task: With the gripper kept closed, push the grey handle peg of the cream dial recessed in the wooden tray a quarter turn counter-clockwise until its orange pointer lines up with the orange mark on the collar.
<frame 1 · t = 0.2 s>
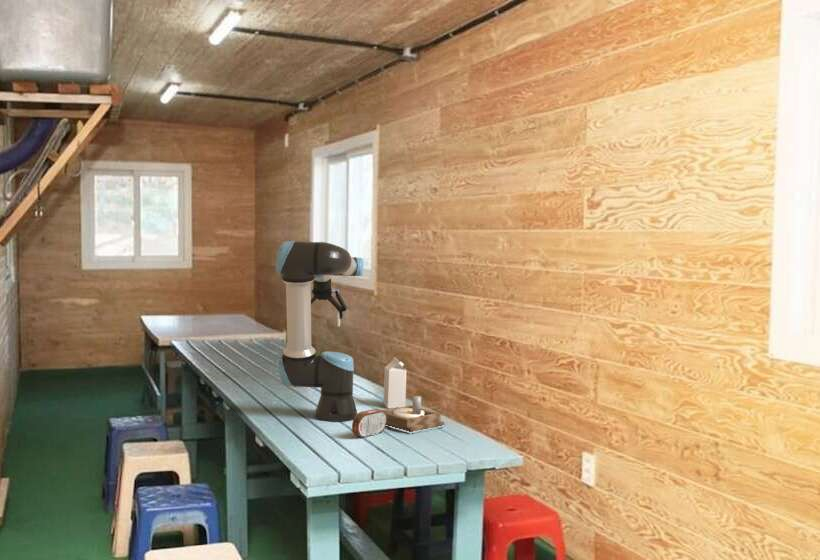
hand: (323, 324, 326), 28 cm above the table, tool tilted 20°, fingers open, 13 cm apart
dial: (409, 406, 270), point 7 cm above the table, hinge at 0.0°
tin: (369, 435, 254), on the table
wooden tray: (408, 424, 270), on the table
milk carton: (394, 407, 299), on the table
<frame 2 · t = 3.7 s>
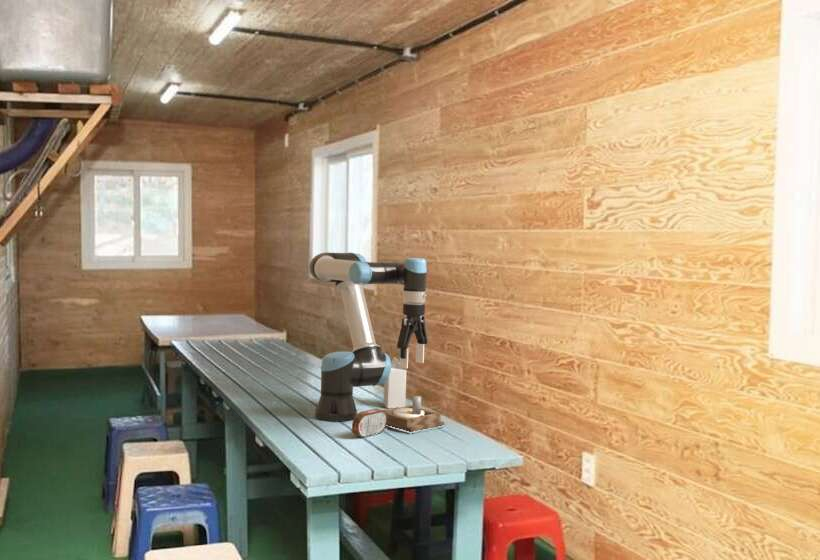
hand: (411, 365, 260), 23 cm above the table, tool pointing down, fingers open, 13 cm apart
nothing on the table moved.
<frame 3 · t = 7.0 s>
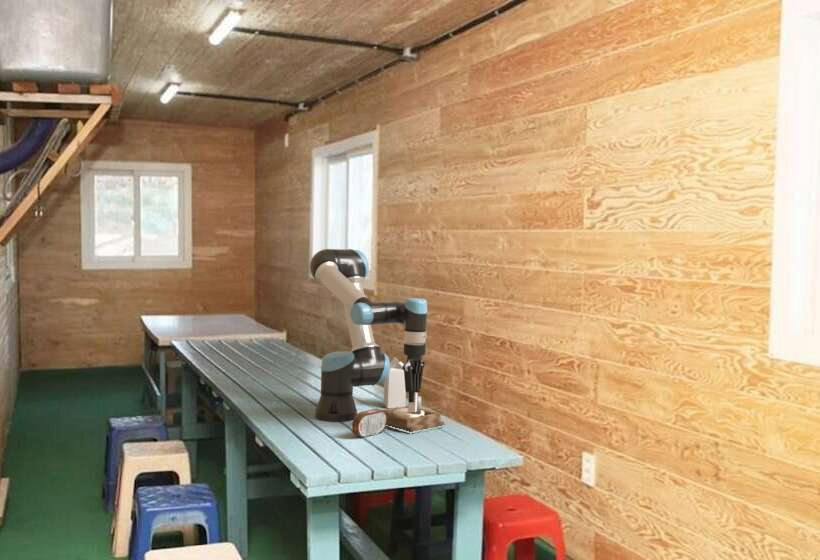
hand: (412, 411, 263), 6 cm above the table, tool pointing down, fingers closed
dial: (409, 406, 270), point 7 cm above the table, hinge at 1.0°, touching gripper
everything else where it was.
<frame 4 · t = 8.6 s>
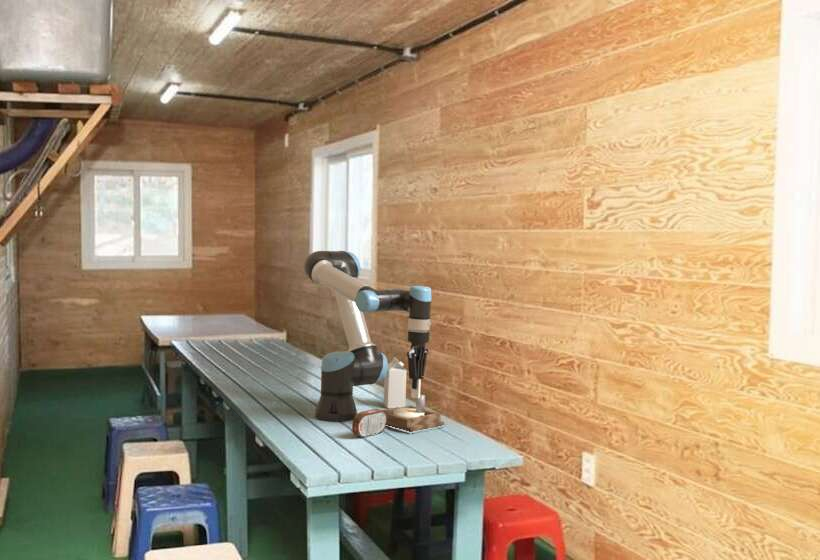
hand: (415, 397, 266), 11 cm above the table, tool pointing down, fingers closed
dial: (409, 406, 270), point 7 cm above the table, hinge at 44.2°
everything else where it was.
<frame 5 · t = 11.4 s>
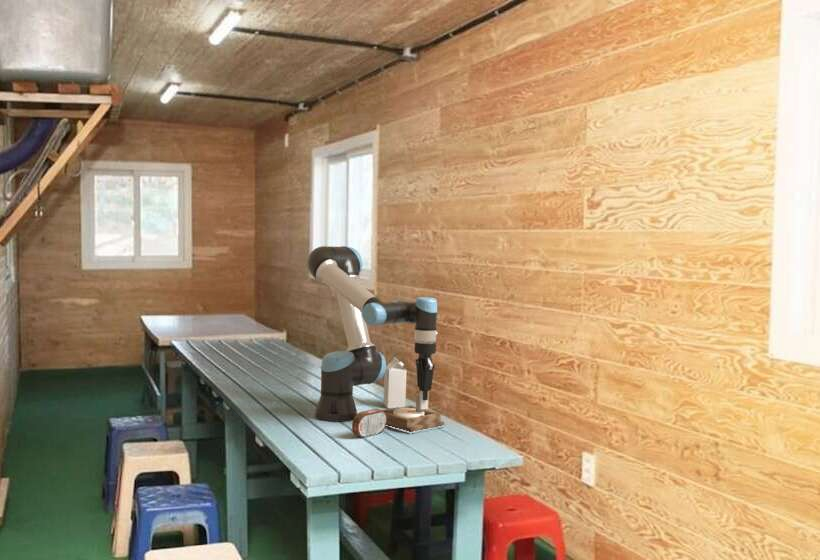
hand: (423, 408, 267), 7 cm above the table, tool pointing down, fingers closed
dial: (409, 406, 270), point 7 cm above the table, hinge at 58.5°, touching gripper
everything else where it was.
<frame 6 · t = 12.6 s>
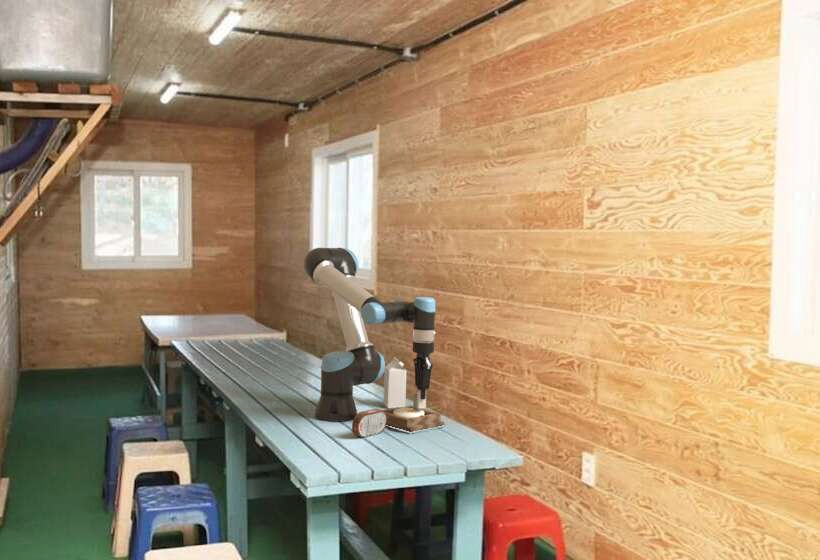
hand: (421, 407, 269), 7 cm above the table, tool pointing down, fingers closed
dial: (409, 406, 270), point 7 cm above the table, hinge at 88.5°, touching gripper
everything else where it was.
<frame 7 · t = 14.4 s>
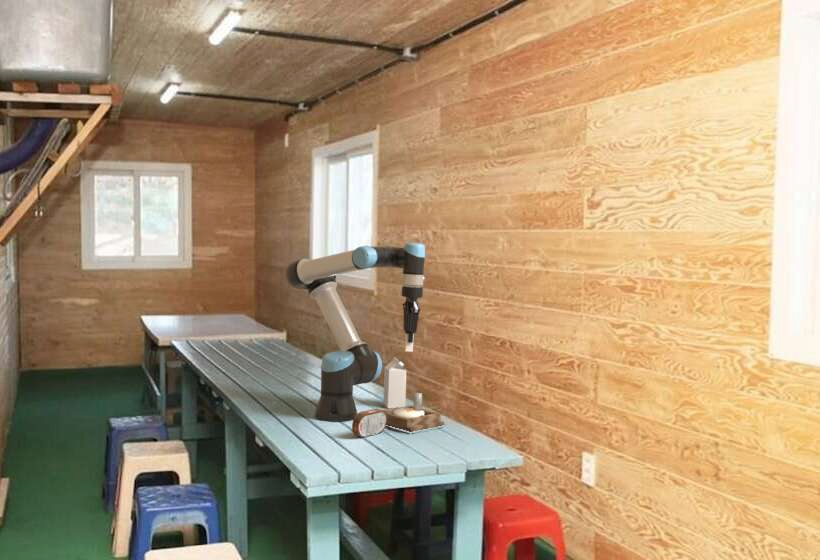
hand: (408, 351, 275), 25 cm above the table, tool pointing down, fingers closed
dial: (409, 406, 270), point 7 cm above the table, hinge at 88.5°
everything else where it was.
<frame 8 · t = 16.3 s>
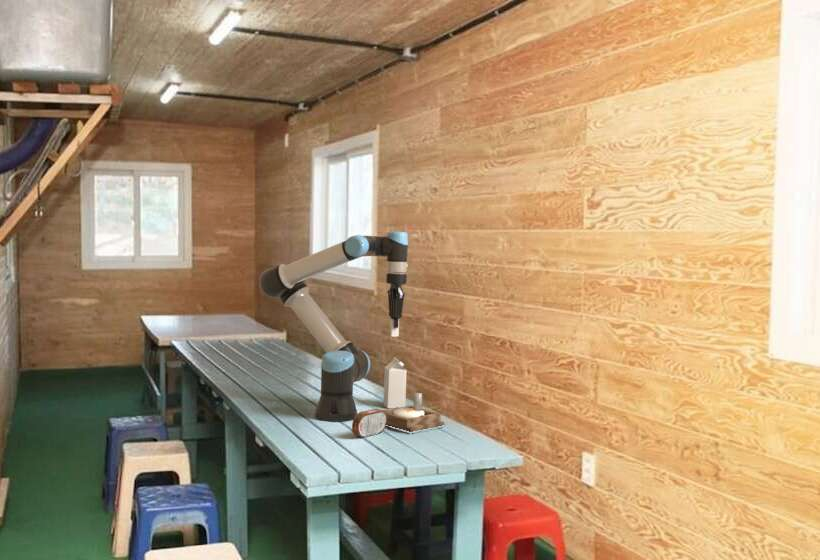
hand: (394, 336, 284), 29 cm above the table, tool pointing down, fingers closed
nothing on the table moved.
at the end: dial at +88° (first picture: +0°) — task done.
